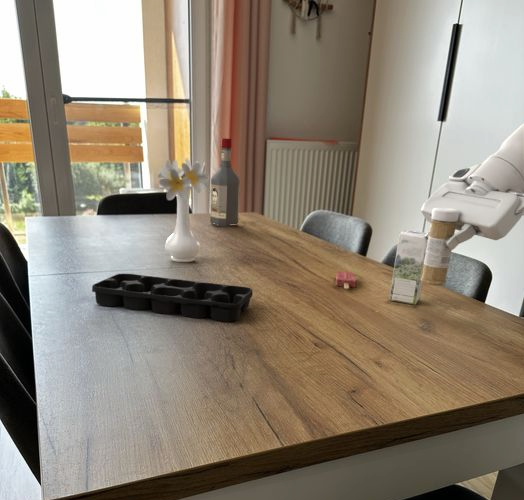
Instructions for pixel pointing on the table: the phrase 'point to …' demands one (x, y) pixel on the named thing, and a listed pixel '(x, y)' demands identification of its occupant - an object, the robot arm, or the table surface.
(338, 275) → the popsicle
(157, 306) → the egg carton
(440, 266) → the spice jar
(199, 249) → the flower vase
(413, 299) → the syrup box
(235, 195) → the liquor
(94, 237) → the table surface
